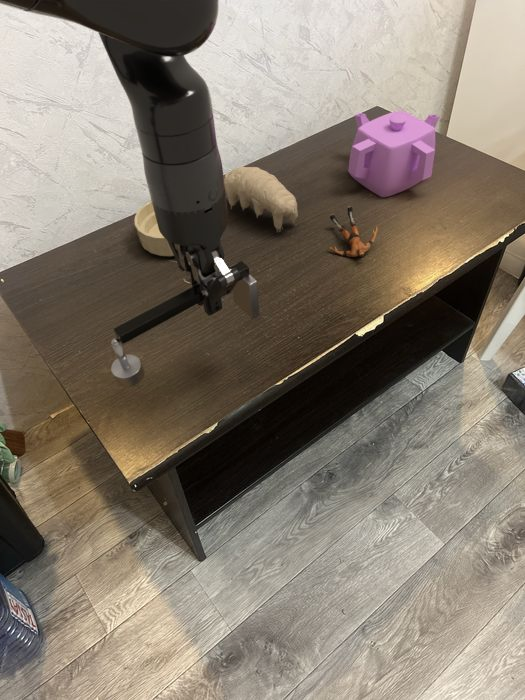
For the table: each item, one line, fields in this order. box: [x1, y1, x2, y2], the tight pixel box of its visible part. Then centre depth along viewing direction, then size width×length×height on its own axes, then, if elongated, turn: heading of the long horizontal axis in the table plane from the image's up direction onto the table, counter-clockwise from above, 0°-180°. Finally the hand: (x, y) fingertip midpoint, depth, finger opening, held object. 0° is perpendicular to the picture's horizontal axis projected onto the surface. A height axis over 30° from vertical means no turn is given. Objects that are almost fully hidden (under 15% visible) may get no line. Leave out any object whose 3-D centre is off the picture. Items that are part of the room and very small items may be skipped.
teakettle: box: [347, 109, 440, 198], centre depth 100 cm, size 17×17×12 cm
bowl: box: [133, 200, 174, 257], centre depth 94 cm, size 13×13×5 cm
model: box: [224, 166, 299, 233], centre depth 95 cm, size 7×18×10 cm, turn 49°
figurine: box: [329, 205, 379, 259], centre depth 91 cm, size 9×2×11 cm
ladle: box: [110, 260, 260, 388], centre depth 62 cm, size 20×4×8 cm, turn 127°
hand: (209, 306), depth 64 cm, fingers closed on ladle
